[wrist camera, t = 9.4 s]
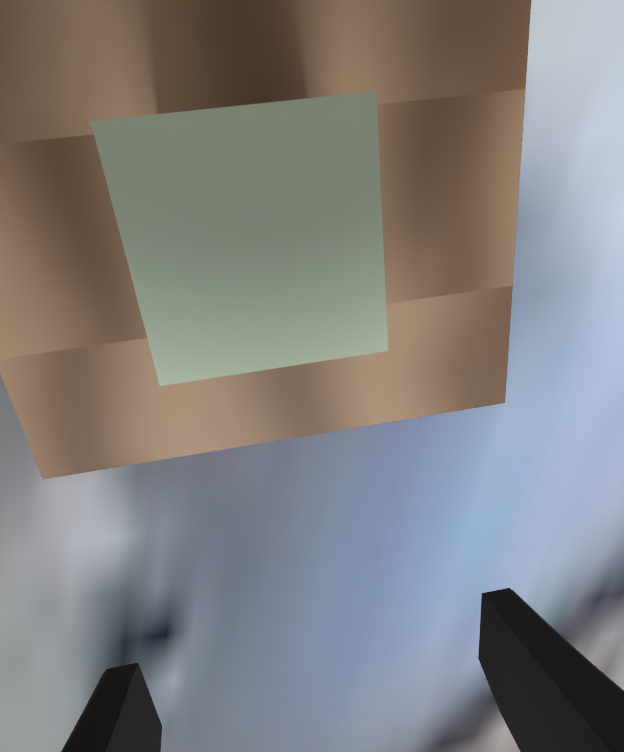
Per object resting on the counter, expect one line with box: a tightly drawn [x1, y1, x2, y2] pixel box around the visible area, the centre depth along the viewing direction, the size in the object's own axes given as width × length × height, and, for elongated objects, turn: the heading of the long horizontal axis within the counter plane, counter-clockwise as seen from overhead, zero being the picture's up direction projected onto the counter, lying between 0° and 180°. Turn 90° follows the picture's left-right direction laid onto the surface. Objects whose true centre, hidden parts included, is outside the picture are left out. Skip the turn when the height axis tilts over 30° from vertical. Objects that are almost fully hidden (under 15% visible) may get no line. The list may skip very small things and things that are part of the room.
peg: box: [91, 91, 388, 386], centre depth 12 cm, size 4×4×9 cm
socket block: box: [0, 0, 531, 479], centre depth 15 cm, size 16×14×3 cm
